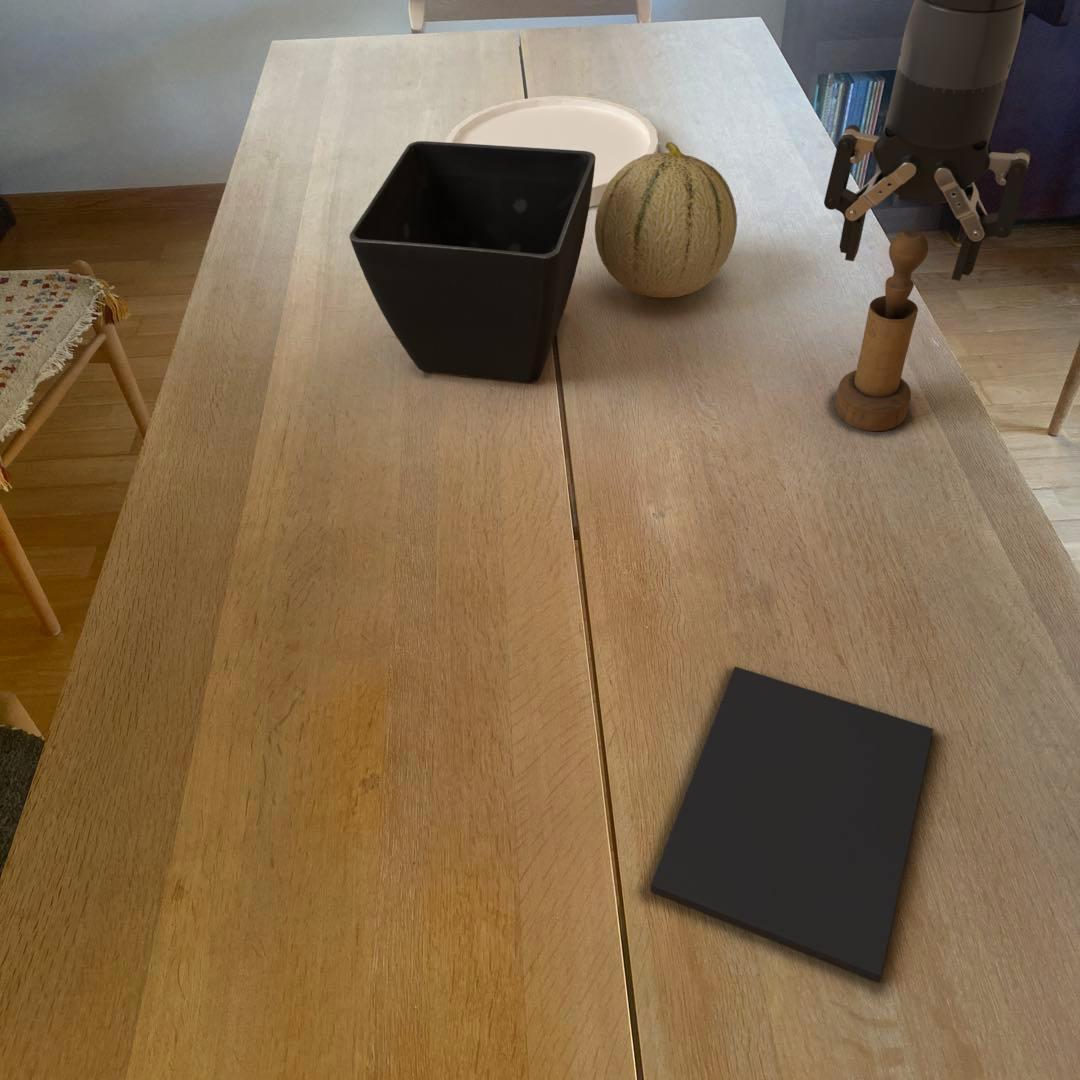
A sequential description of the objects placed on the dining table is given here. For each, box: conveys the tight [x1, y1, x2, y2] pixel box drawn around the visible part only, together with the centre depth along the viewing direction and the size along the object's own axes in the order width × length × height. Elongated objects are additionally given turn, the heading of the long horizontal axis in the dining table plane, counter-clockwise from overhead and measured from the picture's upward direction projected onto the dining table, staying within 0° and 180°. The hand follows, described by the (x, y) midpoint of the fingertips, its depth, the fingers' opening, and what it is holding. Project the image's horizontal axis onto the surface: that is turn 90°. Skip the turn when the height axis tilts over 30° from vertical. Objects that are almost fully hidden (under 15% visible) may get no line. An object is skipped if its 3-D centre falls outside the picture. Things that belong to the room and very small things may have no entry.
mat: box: [650, 666, 934, 983], centre depth 65 cm, size 14×18×1 cm
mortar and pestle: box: [834, 230, 929, 432], centre depth 87 cm, size 7×6×18 cm
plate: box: [444, 95, 659, 208], centre depth 131 cm, size 28×28×2 cm
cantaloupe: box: [594, 141, 738, 298], centre depth 104 cm, size 15×15×15 cm
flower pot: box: [348, 140, 595, 384], centre depth 97 cm, size 19×19×17 cm
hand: (903, 265), depth 82 cm, fingers open, 8 cm apart
